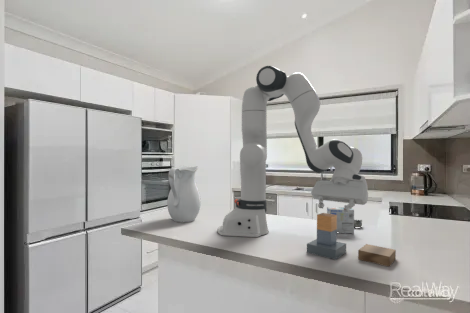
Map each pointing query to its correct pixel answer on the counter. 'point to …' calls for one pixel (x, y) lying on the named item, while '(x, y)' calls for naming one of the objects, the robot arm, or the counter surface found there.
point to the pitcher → (183, 194)
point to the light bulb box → (343, 219)
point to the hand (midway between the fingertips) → (332, 209)
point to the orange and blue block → (326, 229)
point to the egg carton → (357, 223)
